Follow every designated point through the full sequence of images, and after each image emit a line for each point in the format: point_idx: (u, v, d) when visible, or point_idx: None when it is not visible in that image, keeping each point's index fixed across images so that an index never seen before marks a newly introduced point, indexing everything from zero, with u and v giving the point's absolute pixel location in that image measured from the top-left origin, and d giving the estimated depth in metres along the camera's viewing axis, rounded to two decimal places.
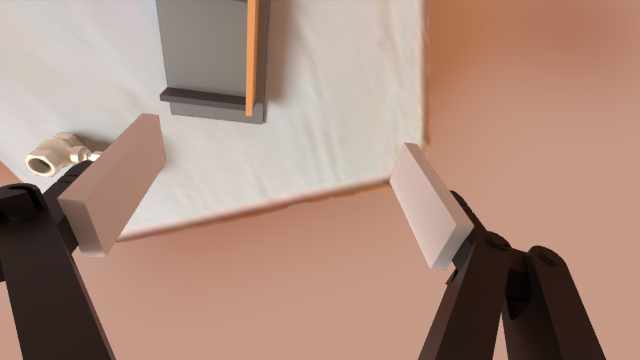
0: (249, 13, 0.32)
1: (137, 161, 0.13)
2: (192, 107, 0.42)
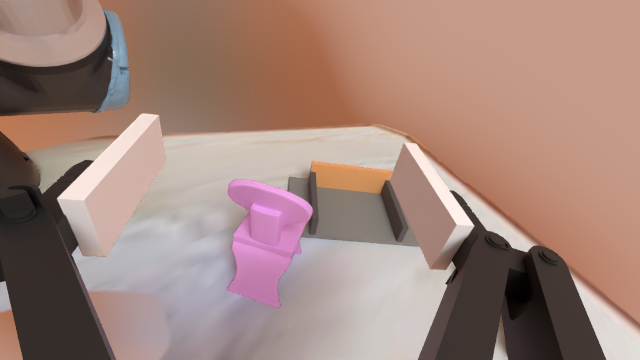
0: (322, 164, 0.47)
1: (137, 161, 0.13)
2: None
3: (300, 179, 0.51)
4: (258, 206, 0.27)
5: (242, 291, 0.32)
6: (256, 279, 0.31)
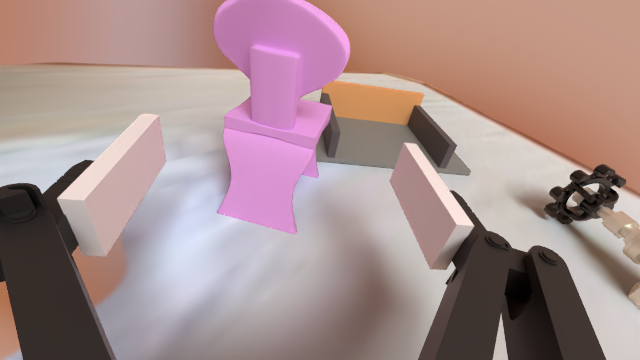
0: (336, 82, 0.38)
1: (137, 161, 0.13)
2: None
3: None
4: (262, 47, 0.17)
5: (240, 212, 0.22)
6: (261, 190, 0.21)
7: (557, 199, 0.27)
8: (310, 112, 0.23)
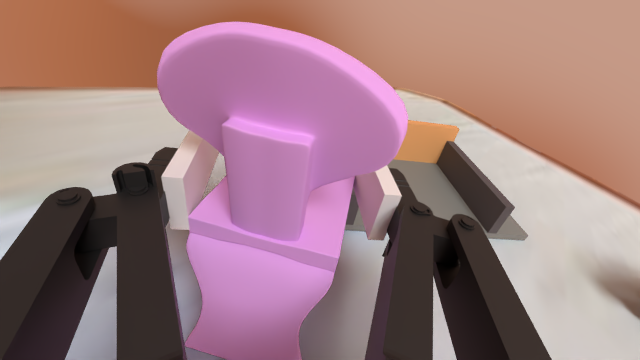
0: None
1: (206, 149, 0.14)
2: None
3: None
4: (245, 122, 0.09)
5: (219, 347, 0.14)
6: (250, 323, 0.13)
7: None
8: (325, 191, 0.15)
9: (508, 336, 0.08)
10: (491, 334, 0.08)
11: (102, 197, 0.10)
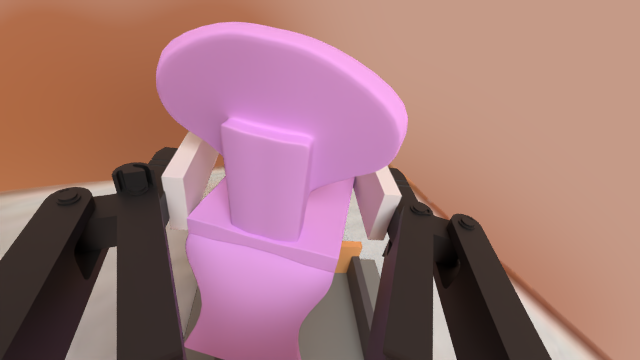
0: None
1: (206, 149, 0.14)
2: None
3: None
4: (244, 123, 0.09)
5: (218, 348, 0.14)
6: (249, 323, 0.13)
7: None
8: (324, 192, 0.15)
9: (508, 336, 0.08)
10: (491, 334, 0.08)
11: (102, 197, 0.10)
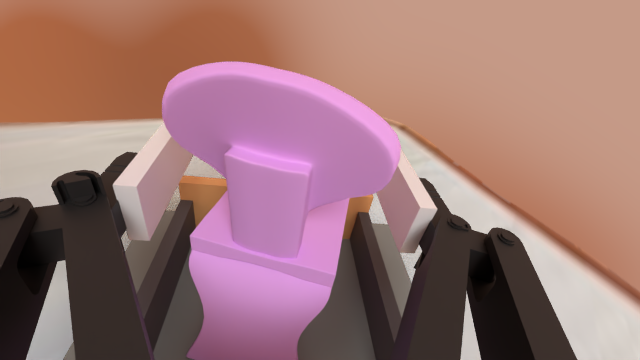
0: (204, 182, 0.20)
1: (173, 153, 0.13)
2: None
3: (173, 214, 0.23)
4: (247, 151, 0.10)
5: (220, 358, 0.15)
6: (250, 335, 0.14)
7: None
8: (322, 206, 0.15)
9: (542, 355, 0.08)
10: (523, 351, 0.08)
11: (46, 207, 0.10)
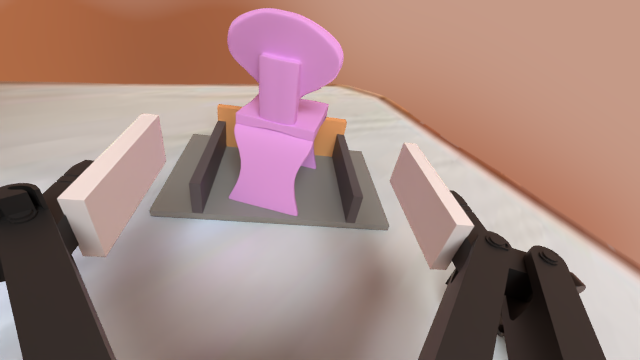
0: (234, 108, 0.30)
1: (137, 161, 0.13)
2: (366, 202, 0.29)
3: (209, 137, 0.34)
4: (269, 55, 0.20)
5: (249, 197, 0.25)
6: (267, 177, 0.24)
7: None
8: (309, 110, 0.26)
9: None
10: None
11: None
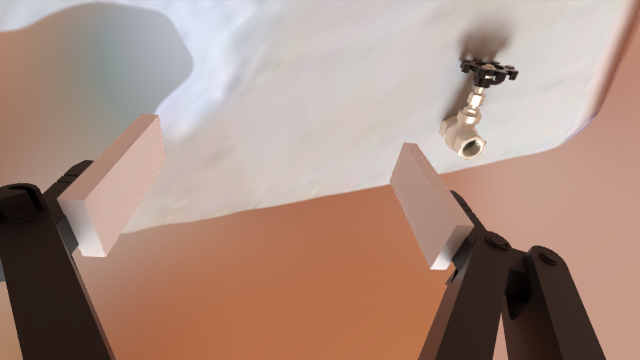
0: None
1: (137, 161, 0.13)
2: None
3: None
4: None
5: None
6: None
7: None
8: None
9: None
10: None
11: None
